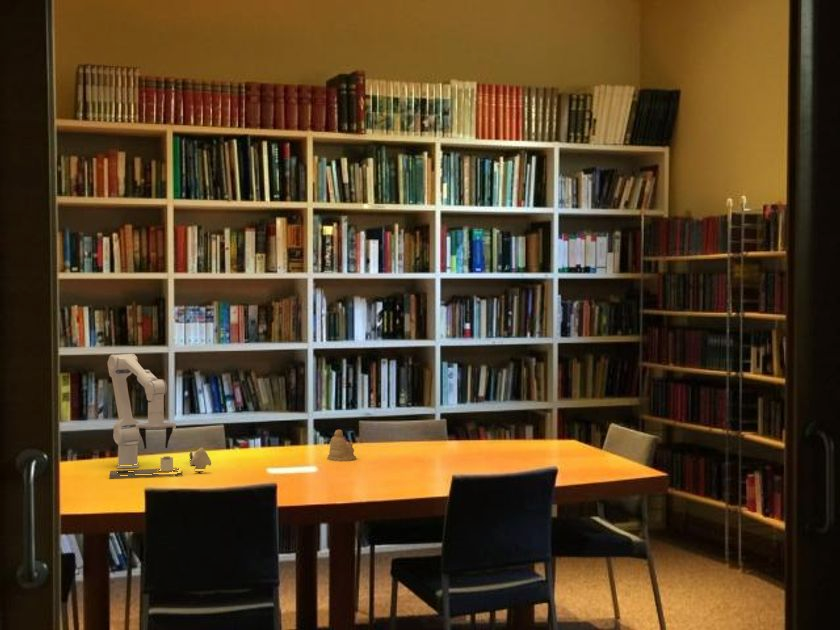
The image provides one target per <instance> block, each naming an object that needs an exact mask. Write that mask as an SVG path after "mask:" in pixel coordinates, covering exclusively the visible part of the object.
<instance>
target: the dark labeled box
mask: <svg viewBox="0 0 840 630" xmlns="http://www.w3.org/2000/svg"><path fill="white" fill-rule="evenodd" d="M196 452H197V451H190V453H189V461H191V460H192V458H193V456H194V454H195V453H196ZM190 459H191V460H190ZM191 466H195V465H191ZM191 466H190V467H191Z"/></svg>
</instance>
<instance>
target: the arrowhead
mask: <svg viewBox="0 0 840 630" xmlns="http://www.w3.org/2000/svg"><path fill="white" fill-rule="evenodd" d="M195 452H196V453H195V454H194V456H193V458H192V460H191V462H189V466H190V467H191V465H195V466H196V467H194V470H195V469H205V470H206V467H207V466H212V460H211V458H210V456H209V454H208V453H207V451H206V450H205V449H204V447H200V448H198V449H197V451H195ZM194 472H195V473H197V472H202V473H203V472H205V471H194Z"/></svg>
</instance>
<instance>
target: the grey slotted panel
mask: <svg viewBox="0 0 840 630" xmlns="http://www.w3.org/2000/svg"><path fill="white" fill-rule="evenodd" d="M177 468H178V469H177ZM179 468H180V467H173V469H175V470H173V472H178V471H177V470H179ZM160 469H161V468H159V467H158V468H147V469H145V468H142V469H141V468H140V469H122V470H119V469H117V470H110V471H109V480H112V479H113V480H114V479H115V480H118V479H119V480H120V479H140V478H139V477H145V478H156V477H155V476H169V477H172V476H171V475H182V476H183V472H182V473H177V474H153V473H169V472H161V471H159V470H160ZM128 471H134V472H128ZM117 472H118V473H117ZM135 474H152V475H135ZM120 475H128V476H120Z"/></svg>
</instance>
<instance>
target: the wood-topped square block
mask: <svg viewBox="0 0 840 630" xmlns="http://www.w3.org/2000/svg"><path fill="white" fill-rule="evenodd" d="M173 468H174V457H171V456H169V455H167V456H165V455H164V456H163V457H160V469H161V472H172V471H173Z"/></svg>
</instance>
